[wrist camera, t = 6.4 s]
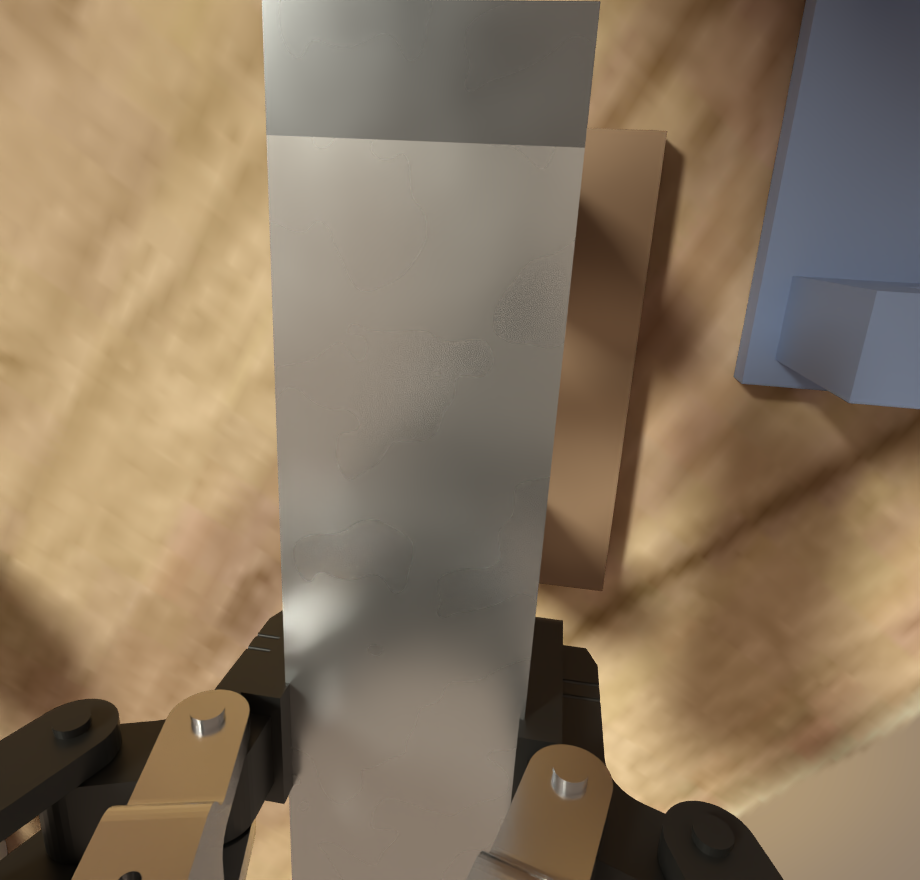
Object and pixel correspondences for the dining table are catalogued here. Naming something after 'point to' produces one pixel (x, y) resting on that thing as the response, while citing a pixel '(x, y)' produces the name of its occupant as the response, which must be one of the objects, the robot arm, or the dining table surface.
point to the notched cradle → (844, 214)
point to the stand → (599, 349)
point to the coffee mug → (3, 849)
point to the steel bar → (416, 403)
